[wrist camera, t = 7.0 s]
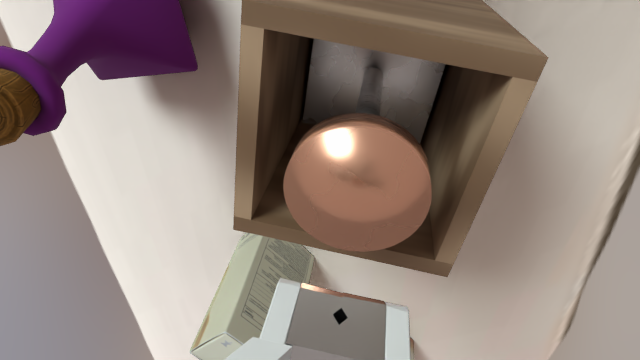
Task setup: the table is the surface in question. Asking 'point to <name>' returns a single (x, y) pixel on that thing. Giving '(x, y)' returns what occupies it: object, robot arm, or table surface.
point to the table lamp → (362, 147)
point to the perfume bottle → (89, 56)
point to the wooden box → (442, 125)
